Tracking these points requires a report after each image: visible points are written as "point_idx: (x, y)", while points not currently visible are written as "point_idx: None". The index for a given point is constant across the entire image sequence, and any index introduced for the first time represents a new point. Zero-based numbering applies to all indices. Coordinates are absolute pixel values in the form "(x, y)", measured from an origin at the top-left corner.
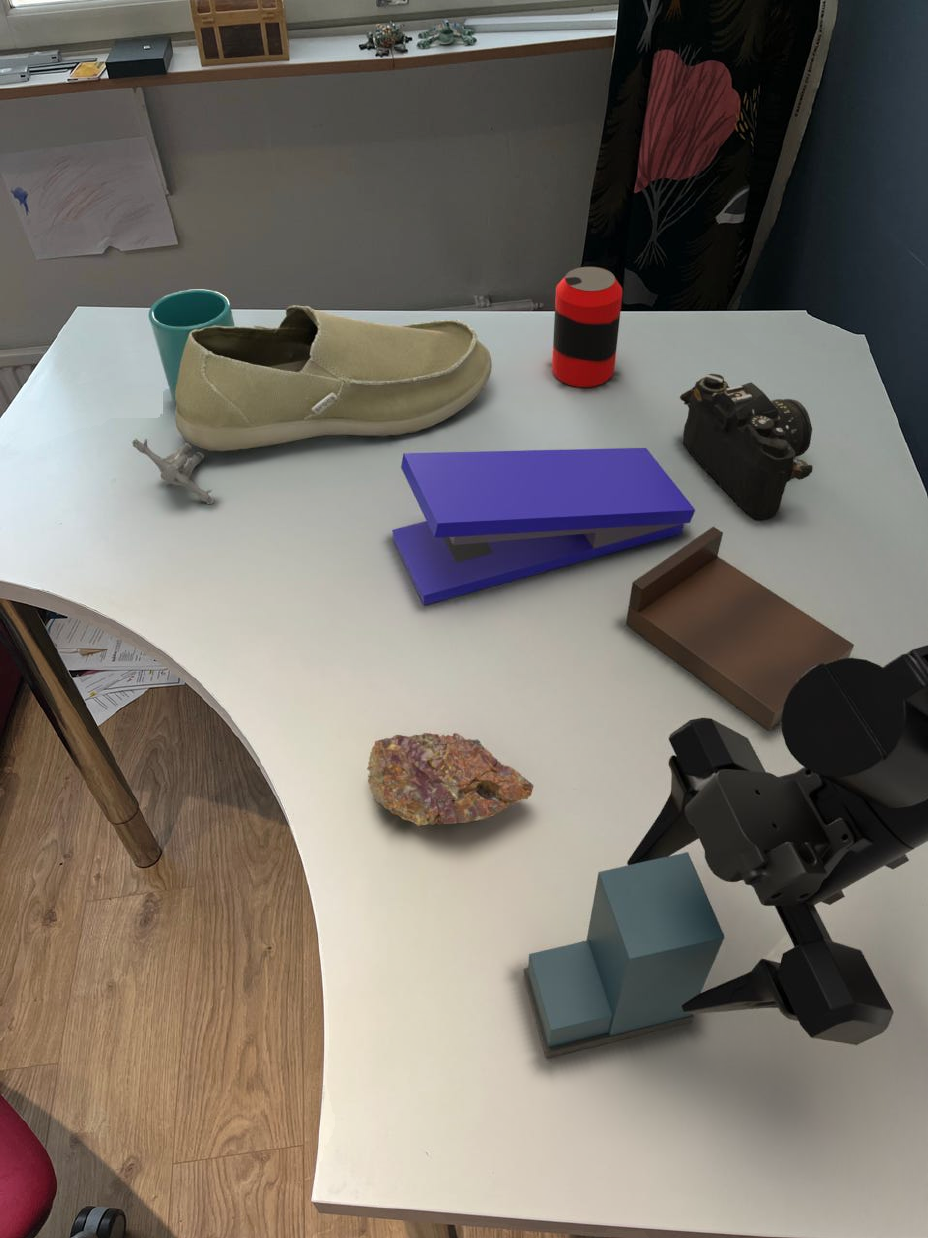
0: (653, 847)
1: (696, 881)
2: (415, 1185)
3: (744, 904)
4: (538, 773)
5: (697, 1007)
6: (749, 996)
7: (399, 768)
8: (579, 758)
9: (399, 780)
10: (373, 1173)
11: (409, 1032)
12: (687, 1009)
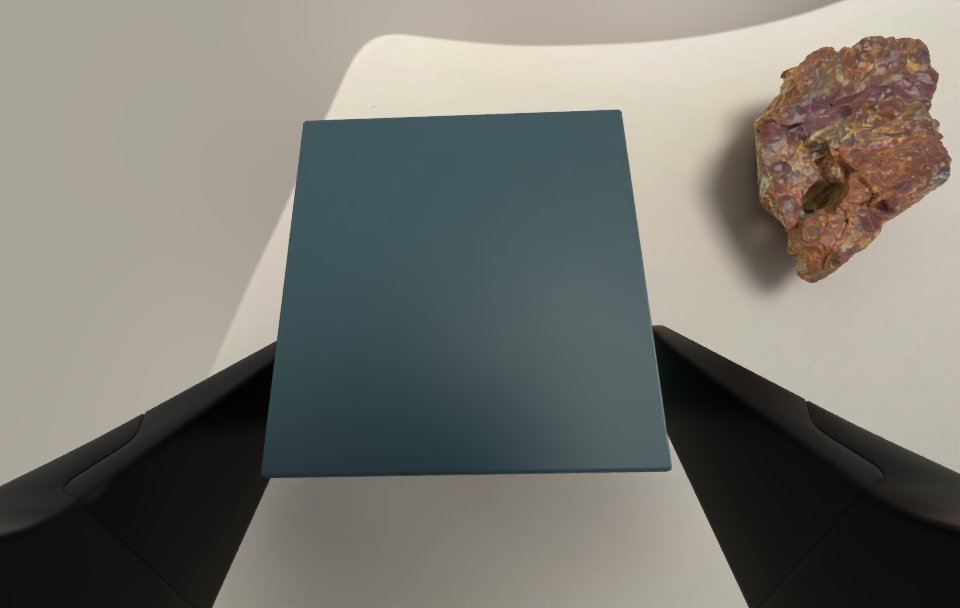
0: (701, 380)
1: (524, 453)
2: (350, 94)
3: (578, 581)
4: (838, 319)
5: (256, 352)
6: (33, 478)
7: (869, 68)
8: (871, 392)
9: (843, 71)
10: (371, 64)
11: (489, 106)
12: None
